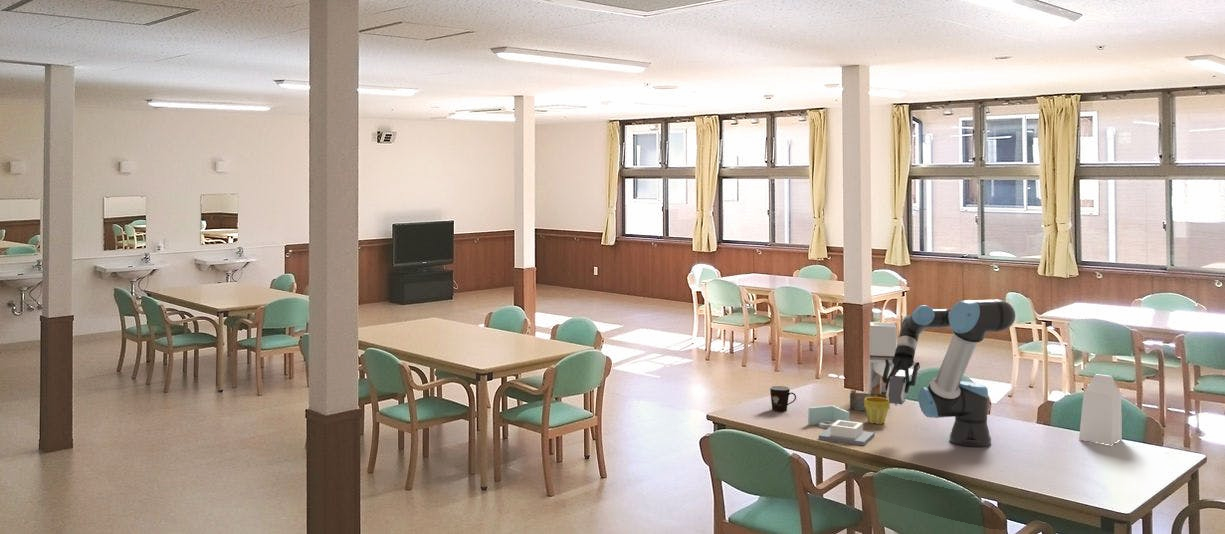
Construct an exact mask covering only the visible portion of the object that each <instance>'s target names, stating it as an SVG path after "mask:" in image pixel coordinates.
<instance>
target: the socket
mask: <svg viewBox="0 0 1225 534" xmlns="http://www.w3.org/2000/svg"><path fill="white" fill-rule="evenodd" d="M873 438H875V432H871V431H864V423H863V422H857V421H850V420H849V421H844V420H837V421H836V422H835V423H833V424H832V425H831V427H829V428H826V429H825V430H824V431H822V432H821V433H820V434H819V435H818V440H822V441H828V440H831V441H830V442H835V441H839V442H838V443H842V442H845V443H844V444H849V443H850V444H851V445H857V446H863V447H864V446H865V445H867V443H869V442H870V441H872V440H873Z"/></svg>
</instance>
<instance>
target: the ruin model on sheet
mask: <svg viewBox="0 0 1225 534" xmlns="http://www.w3.org/2000/svg"><path fill="white" fill-rule="evenodd" d="M867 397H877V394H868V393H865V392H864V393H863V392H857V390H856V389H850V392H849V410H851V408H855V409H854V411H860V410H865V411H864V412H866V407H865V406H864V399H865V398H867Z"/></svg>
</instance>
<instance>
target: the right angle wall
mask: <svg viewBox="0 0 1225 534" xmlns="http://www.w3.org/2000/svg"><path fill="white" fill-rule="evenodd" d="M807 410H808V411H807V412H808V414H807V416H808V417H807V425H808V426H814V425H818V428H820V429H828V428H829V427H831V425H832V424H833V423H835V422H836V421H837V420H844V421H850V419H851V418H850V415H851V413H850V411H848V410H845V409H843V408H841V407H838V406H837V405H834V404H833V405H823V406H814V407H813V406H811V407H808V409H807Z"/></svg>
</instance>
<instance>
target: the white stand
mask: <svg viewBox="0 0 1225 534" xmlns="http://www.w3.org/2000/svg"><path fill="white" fill-rule="evenodd" d="M896 346H897V325H896V322H882V321H881V322H878V321H877V322H876V321H875V322H874V321H870V322H869V351H868V354H869V355H868V356H869V357H868V384H867V385H868V389H867V391H868V392H867V394H877V397H881V398H886V399H887V397H886V393H887V391H886V389H885V386H886V383H883V379H882V377H883V373H884V369H885V366H886V362H885V360H886V359H888V360H892V359H893V358H894V355H895V351H896ZM893 367H894V364H893V363H892V364H891V366H890V369H889V373H888V376H889V375H890V373H891V371H892V369H893ZM887 378H888V377H887Z"/></svg>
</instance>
